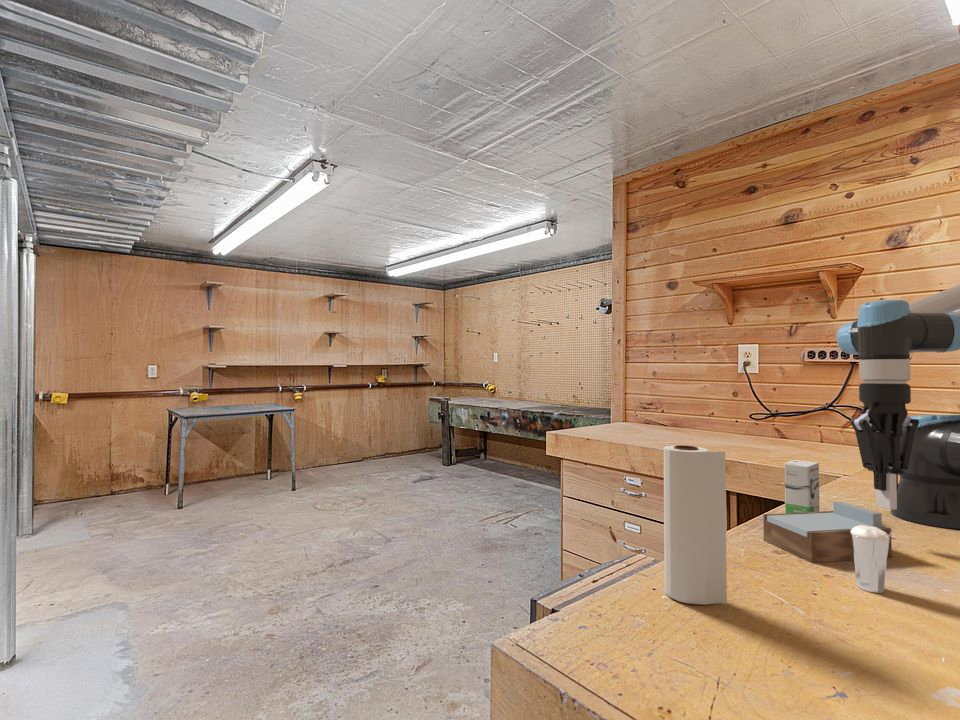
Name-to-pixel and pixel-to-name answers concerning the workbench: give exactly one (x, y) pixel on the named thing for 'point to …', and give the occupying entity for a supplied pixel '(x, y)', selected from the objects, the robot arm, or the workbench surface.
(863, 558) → the milkshake
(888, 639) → the workbench surface
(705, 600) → the paper towel roll
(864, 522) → the lid
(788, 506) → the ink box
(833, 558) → the case
